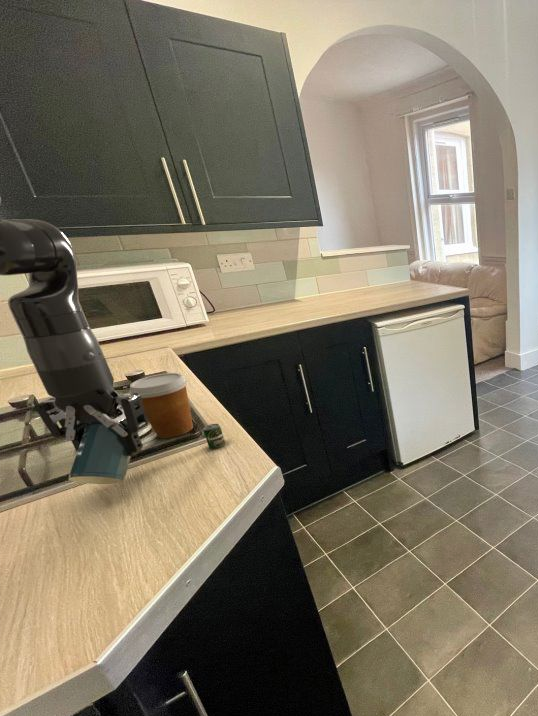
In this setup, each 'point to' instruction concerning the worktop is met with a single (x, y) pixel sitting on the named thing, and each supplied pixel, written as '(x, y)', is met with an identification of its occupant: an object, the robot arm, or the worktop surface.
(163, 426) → the disposable coffee cup
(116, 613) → the worktop surface
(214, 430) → the beer can
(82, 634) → the worktop surface
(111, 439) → the cup
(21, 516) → the worktop surface
